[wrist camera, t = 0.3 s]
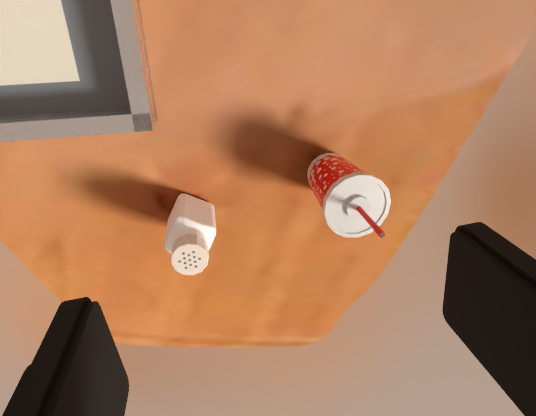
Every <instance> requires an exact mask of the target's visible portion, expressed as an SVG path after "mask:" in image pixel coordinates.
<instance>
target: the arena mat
mask: <svg viewBox="0 0 536 416" xmlns="http://www.w3.org/2000/svg"><path fill="white" fill-rule="evenodd" d="M137 1H138V0H137ZM138 7H139V4H138ZM139 13H140V10H139ZM140 19H141V16H140ZM141 25H142V23H141ZM142 32H143V29H142ZM143 38H144V35H143ZM144 44H145V42H144ZM145 50H146V48H145ZM146 57H147V54H146ZM147 63H148V60H147ZM148 69H149V67H148ZM149 75H150V73H149ZM150 82H151V79H150ZM151 88H152V85H151ZM152 94H153V92H152ZM153 100H154V98H153ZM115 107H130V103H129V97H128V92H127V87H126V81H125V76H124V71H123V65H122V60H121V54H120V49H119V44H118V38H117V33H116V28H115V22H114V17H113V12H112V6H111V1H110V0H0V115H12V114H26V113H41V112H56V111H71V110H86V109H100V108H115ZM154 107H155V104H154ZM155 113H156V110H155ZM156 119H157V117H156Z"/></svg>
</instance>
